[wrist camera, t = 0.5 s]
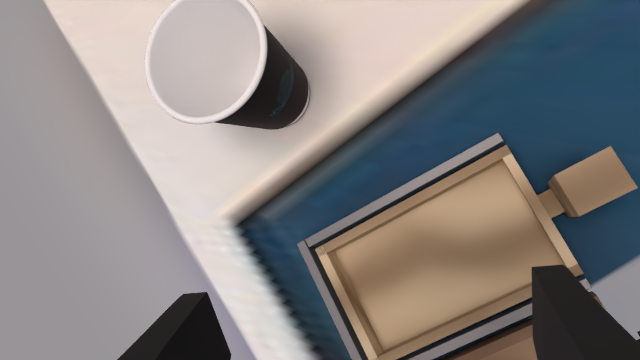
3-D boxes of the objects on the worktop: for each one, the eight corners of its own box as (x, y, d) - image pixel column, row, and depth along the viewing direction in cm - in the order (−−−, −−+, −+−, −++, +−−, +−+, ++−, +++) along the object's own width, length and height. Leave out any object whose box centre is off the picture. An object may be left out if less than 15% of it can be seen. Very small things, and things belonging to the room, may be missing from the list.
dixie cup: (342, 128, 39) (280, 95, 29) (246, 162, 42) (158, 142, 31) (314, 28, 40) (246, -38, 30) (223, 66, 43) (131, 17, 33)
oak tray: (644, 240, 32) (674, 244, 26) (381, 361, 37) (354, 389, 31) (565, 117, 34) (576, 94, 28) (325, 247, 39) (290, 252, 33)
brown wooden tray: (684, 445, 31) (693, 457, 29) (443, 531, 35) (440, 545, 33) (498, 136, 36) (498, 132, 34) (305, 243, 40) (296, 244, 38)
